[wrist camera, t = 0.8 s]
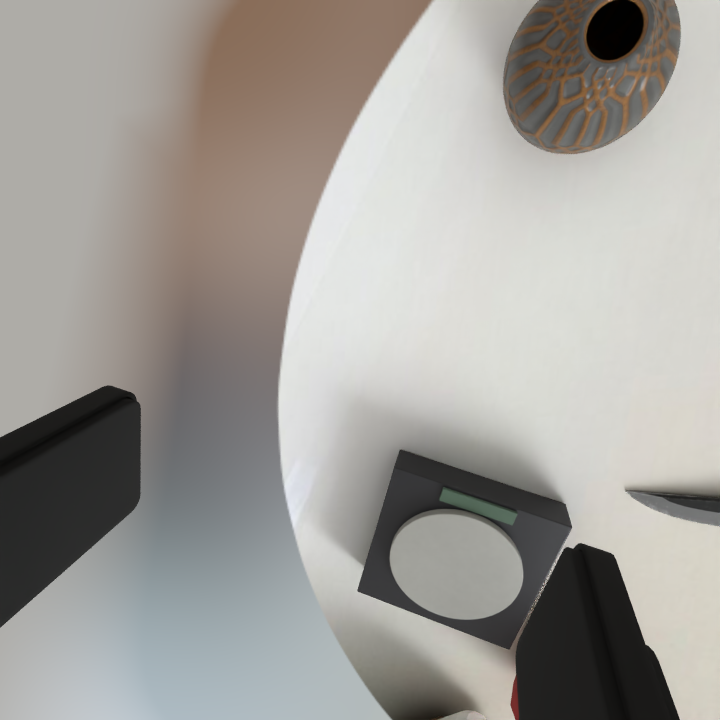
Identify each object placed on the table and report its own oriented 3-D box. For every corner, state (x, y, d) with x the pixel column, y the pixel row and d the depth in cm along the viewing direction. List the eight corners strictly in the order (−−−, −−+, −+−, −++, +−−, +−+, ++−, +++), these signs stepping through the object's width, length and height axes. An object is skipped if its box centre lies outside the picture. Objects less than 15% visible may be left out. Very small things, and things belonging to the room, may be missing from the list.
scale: (400, 449, 33) (392, 472, 30) (565, 503, 31) (574, 533, 28) (364, 567, 37) (355, 597, 35) (507, 621, 36) (509, 657, 33)
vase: (512, 10, 23) (529, -93, 15) (661, 6, 22) (769, -110, 14) (490, 157, 25) (496, 136, 17) (623, 162, 24) (696, 143, 16)
